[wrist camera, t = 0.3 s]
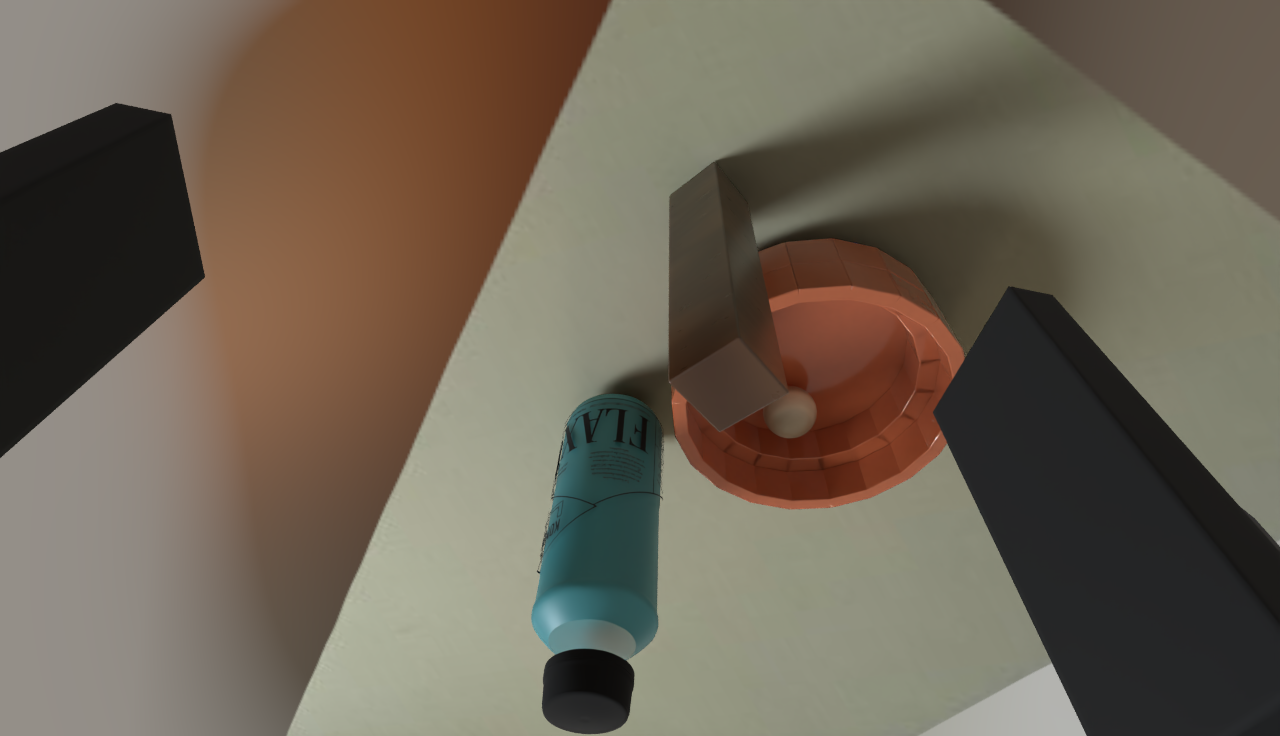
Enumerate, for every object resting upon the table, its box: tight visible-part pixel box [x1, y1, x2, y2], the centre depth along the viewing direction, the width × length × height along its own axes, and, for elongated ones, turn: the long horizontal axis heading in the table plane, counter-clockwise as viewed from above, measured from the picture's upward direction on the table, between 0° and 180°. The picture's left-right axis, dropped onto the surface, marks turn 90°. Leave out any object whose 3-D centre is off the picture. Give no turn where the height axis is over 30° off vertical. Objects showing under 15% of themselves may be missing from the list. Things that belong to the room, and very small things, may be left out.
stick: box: [668, 162, 789, 432], centre depth 30 cm, size 3×3×16 cm
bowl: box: [672, 238, 965, 509], centre depth 39 cm, size 16×16×6 cm
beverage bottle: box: [531, 394, 664, 734], centre depth 37 cm, size 6×7×20 cm
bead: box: [763, 386, 817, 438], centre depth 41 cm, size 3×3×3 cm
